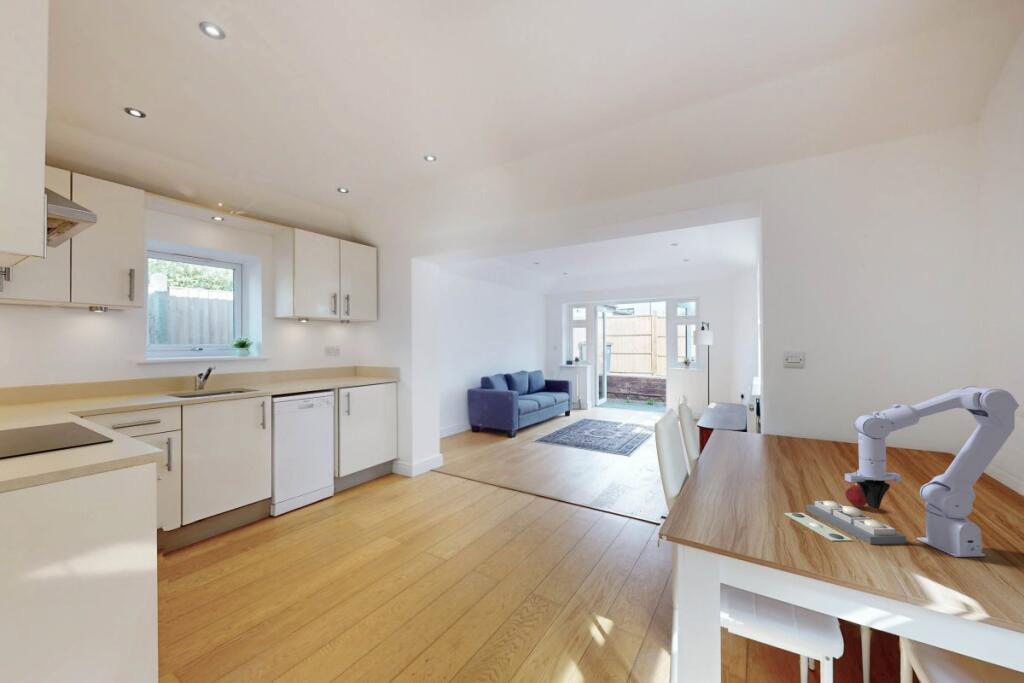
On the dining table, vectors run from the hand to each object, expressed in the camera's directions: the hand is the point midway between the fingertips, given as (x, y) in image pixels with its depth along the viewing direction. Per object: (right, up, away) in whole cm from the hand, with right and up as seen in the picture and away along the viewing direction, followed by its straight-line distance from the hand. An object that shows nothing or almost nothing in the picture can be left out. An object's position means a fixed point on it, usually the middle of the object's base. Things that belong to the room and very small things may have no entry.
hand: (873, 507), depth 110 cm
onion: (+13, -9, +20) cm, 26 cm away
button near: (0, -6, 0) cm, 6 cm away
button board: (0, -9, +7) cm, 11 cm away
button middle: (0, -5, +7) cm, 9 cm away
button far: (0, -7, +14) cm, 15 cm away
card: (-11, -9, +6) cm, 15 cm away
